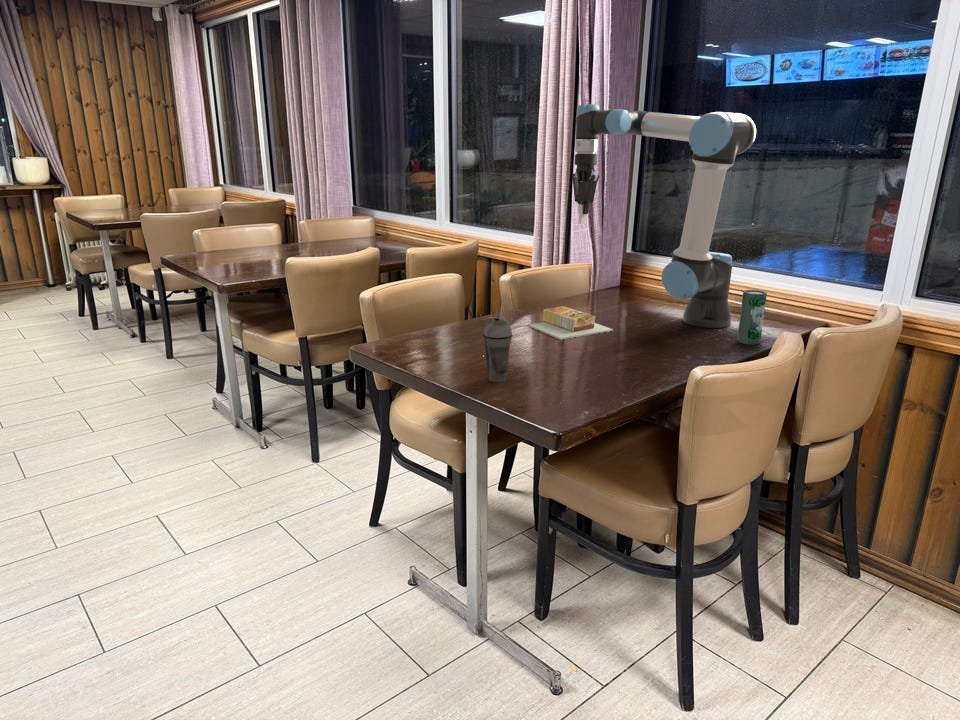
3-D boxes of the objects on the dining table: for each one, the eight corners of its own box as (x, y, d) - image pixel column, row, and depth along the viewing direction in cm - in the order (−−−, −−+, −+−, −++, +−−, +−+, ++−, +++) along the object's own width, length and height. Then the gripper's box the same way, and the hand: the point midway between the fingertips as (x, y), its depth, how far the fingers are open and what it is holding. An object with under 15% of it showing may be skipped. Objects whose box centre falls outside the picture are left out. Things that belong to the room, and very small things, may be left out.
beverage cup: (481, 374, 170) (481, 298, 164) (509, 373, 170) (510, 297, 164) (484, 384, 163) (484, 305, 157) (513, 383, 164) (514, 304, 157)
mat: (612, 331, 209) (612, 329, 208) (560, 340, 199) (560, 338, 199) (578, 318, 224) (578, 316, 223) (528, 326, 214) (528, 324, 214)
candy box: (563, 305, 221) (595, 314, 209) (563, 318, 222) (594, 327, 210) (542, 309, 216) (574, 319, 204) (542, 321, 217) (573, 332, 205)
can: (754, 345, 194) (761, 295, 189) (734, 341, 197) (740, 292, 193) (762, 341, 198) (769, 292, 193) (742, 337, 202) (748, 289, 197)
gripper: (565, 152, 229) (563, 222, 236) (589, 153, 218) (585, 226, 226) (583, 152, 232) (580, 221, 240) (607, 153, 222) (603, 224, 229)
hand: (582, 223), depth 233 cm, fingers closed
